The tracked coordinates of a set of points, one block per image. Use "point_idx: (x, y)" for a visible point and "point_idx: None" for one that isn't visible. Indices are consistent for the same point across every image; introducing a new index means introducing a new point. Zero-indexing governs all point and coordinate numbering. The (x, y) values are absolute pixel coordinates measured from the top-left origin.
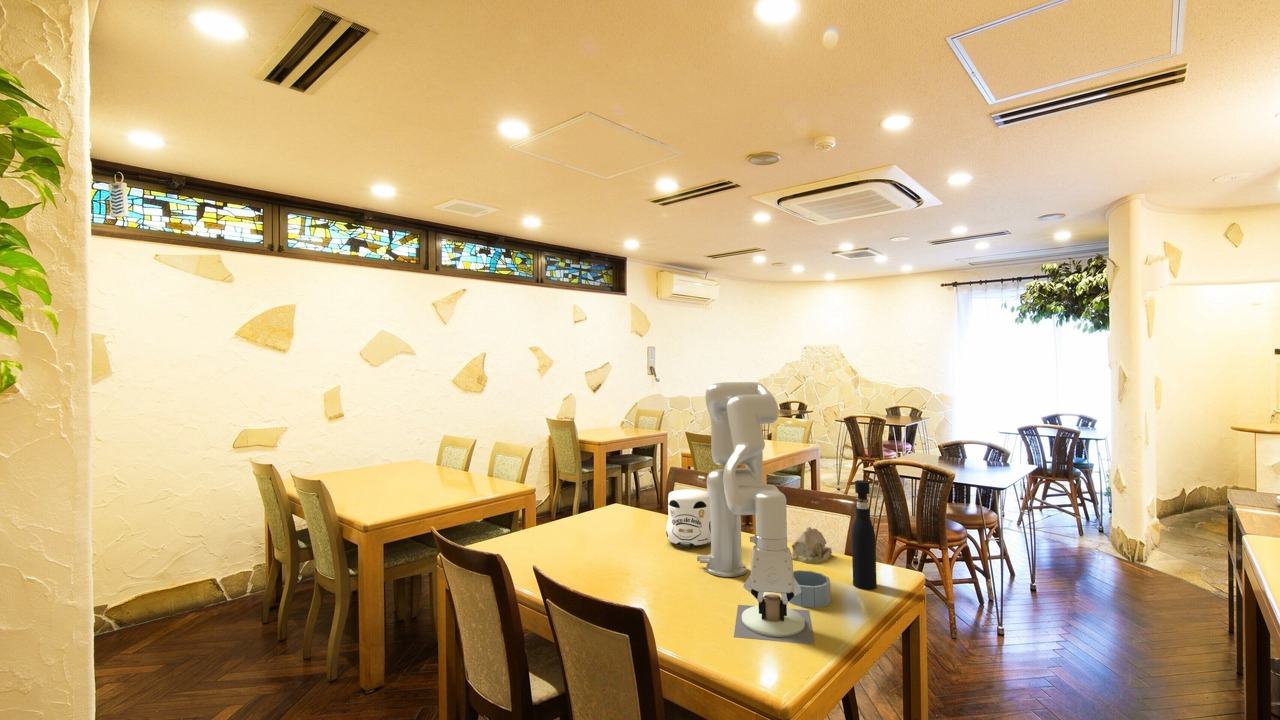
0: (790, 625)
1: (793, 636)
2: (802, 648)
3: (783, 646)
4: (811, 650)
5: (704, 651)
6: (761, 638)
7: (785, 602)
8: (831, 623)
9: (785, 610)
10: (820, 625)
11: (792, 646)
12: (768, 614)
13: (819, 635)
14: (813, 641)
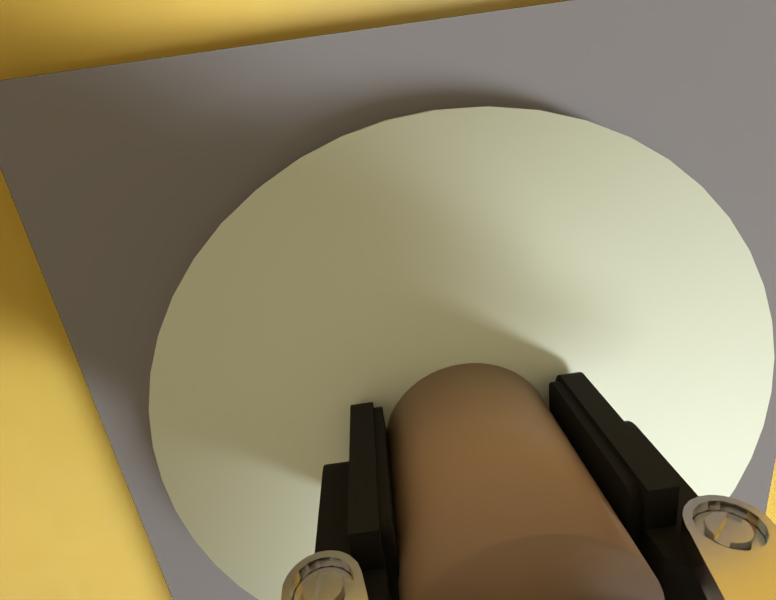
0: (275, 345)
1: (227, 194)
2: (110, 32)
3: (308, 9)
4: (9, 16)
5: None
6: (554, 24)
7: (322, 581)
8: (11, 577)
9: (334, 500)
10: (81, 523)
11: (219, 43)
12: (526, 403)
13: (36, 360)
14: (3, 153)
